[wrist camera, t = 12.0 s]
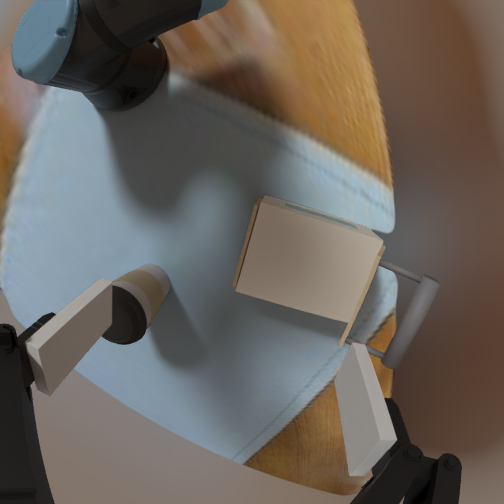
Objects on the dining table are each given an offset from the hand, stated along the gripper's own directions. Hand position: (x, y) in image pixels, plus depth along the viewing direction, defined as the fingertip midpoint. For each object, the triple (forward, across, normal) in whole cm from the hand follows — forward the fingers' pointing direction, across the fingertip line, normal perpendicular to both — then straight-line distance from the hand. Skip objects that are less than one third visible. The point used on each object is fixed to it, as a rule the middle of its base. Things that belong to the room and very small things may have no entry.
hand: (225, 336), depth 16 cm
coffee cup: (+32, -16, -16) cm, 39 cm away
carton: (+32, +8, -4) cm, 33 cm away
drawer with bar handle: (+19, +14, -3) cm, 24 cm away
